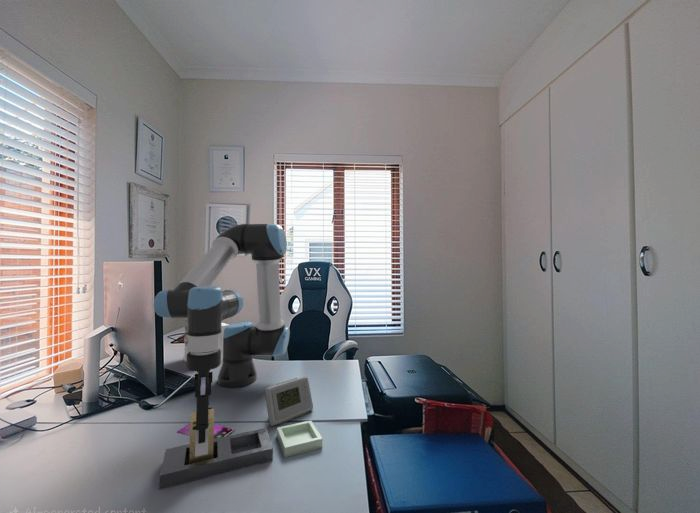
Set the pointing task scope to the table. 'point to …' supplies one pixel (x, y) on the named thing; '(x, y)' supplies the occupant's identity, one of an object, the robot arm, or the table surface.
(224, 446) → the grey slotted holder
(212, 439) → the wooden block
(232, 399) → the table surface
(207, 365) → the robot arm
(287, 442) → the tray
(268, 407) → the digital clock
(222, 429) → the smartphone
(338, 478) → the table surface
